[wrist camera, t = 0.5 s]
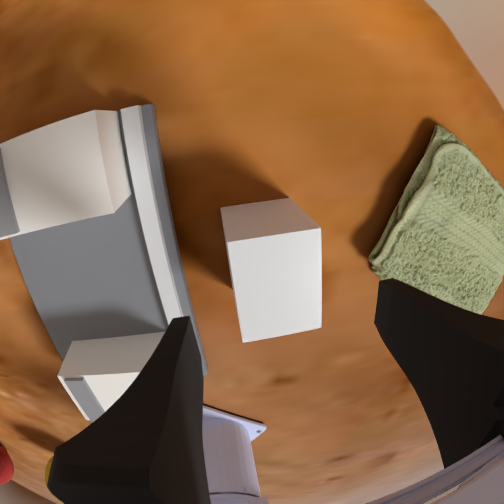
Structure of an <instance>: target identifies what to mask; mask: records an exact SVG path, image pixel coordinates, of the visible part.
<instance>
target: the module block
mask: <svg viewBox="0 0 504 504" xmlns="http://www.w3.org/2000/svg"><path fill="white" fill-rule="evenodd" d="M220 209H221V216H222V223H223V230H224V236H225V243H226V250H227V256H228V263H229V269H230V275H231V282H232V288H233V293H234V299H235V304H236V309H237V315H238V320H239V325H240V330H241V335H242V340H243V343H244V342H250V341H256V340H262V339H267V338H272V337H278V336H283V335H288V334H293V333H298V332H303V331H307V330H312V329H317V328H321V315H322V258H321V228H320V227H319V226H318V225H317V224H316V223H315V222H314V221H313V220H312V219H311V218H310V217H309V216H308V215H307V214H306V213H305V212H304V211H303V210H302V209H301V208H300V207H299V206H298V205H297V204H296V203H294V202H293V201H292V200H291V199H290V198H285V199H277V200H270V201H262V202H255V203H248V204H241V205H234V206H228V207H221V208H220Z"/></svg>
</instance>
